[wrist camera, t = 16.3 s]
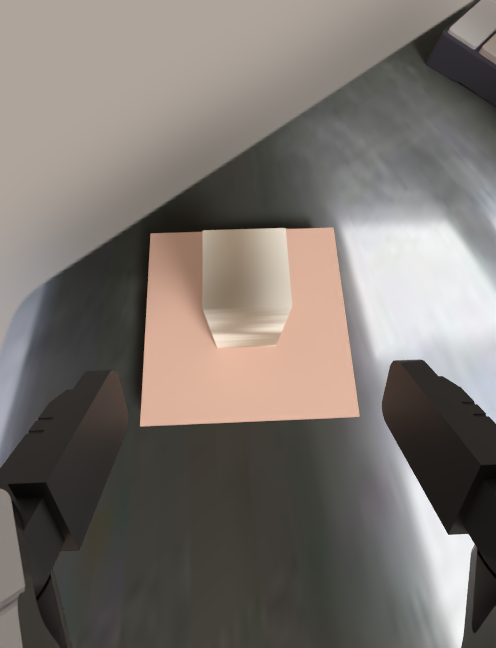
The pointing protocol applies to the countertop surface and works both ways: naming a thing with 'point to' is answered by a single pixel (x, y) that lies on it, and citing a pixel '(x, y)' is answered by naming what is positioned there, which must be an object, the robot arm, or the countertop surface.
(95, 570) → the countertop surface
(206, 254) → the ash block
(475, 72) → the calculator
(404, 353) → the countertop surface
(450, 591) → the countertop surface
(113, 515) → the countertop surface
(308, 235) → the plinth
